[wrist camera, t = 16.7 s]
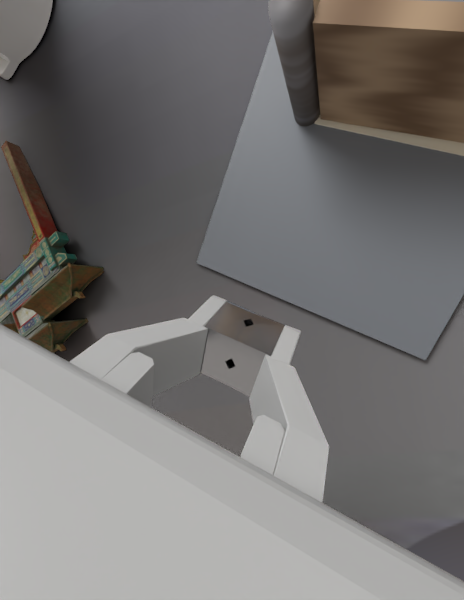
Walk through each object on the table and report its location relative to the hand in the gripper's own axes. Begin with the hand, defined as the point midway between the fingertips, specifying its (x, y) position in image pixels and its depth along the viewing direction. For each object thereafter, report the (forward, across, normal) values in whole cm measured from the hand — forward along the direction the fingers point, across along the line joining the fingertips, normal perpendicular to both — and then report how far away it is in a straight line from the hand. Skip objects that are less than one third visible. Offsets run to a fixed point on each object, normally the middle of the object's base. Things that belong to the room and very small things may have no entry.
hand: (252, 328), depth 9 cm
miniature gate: (+16, +39, +20) cm, 47 cm away
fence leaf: (+23, -4, -7) cm, 24 cm away
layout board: (+23, -1, -4) cm, 23 cm away
